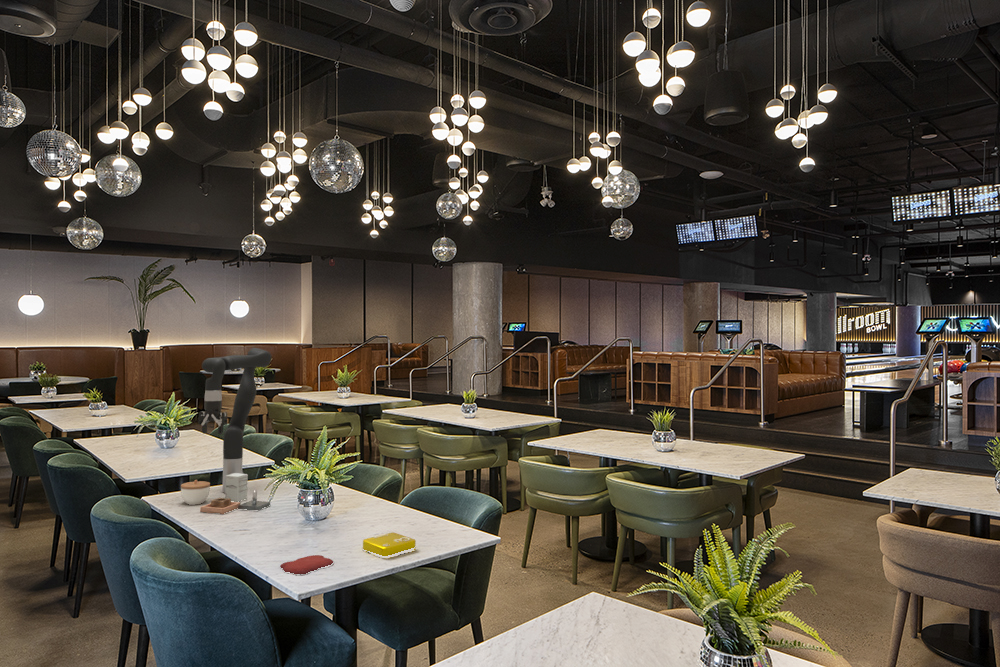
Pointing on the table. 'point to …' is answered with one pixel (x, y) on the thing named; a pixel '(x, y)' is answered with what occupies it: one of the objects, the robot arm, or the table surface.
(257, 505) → the post stand
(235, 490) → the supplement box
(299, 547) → the table surface
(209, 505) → the terracotta tray
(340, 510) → the table surface
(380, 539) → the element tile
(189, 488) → the lidded bowl
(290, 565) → the patty
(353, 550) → the table surface
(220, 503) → the brown wooden box
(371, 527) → the table surface
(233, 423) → the robot arm
